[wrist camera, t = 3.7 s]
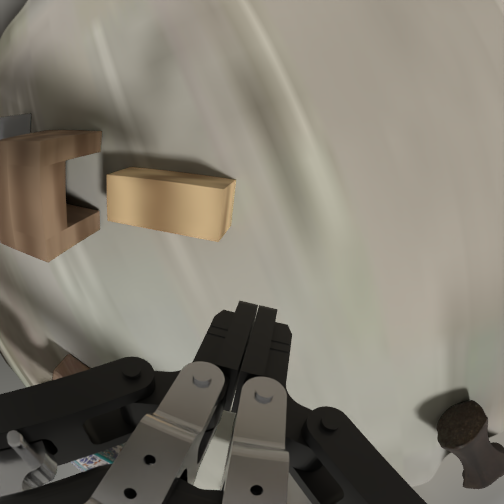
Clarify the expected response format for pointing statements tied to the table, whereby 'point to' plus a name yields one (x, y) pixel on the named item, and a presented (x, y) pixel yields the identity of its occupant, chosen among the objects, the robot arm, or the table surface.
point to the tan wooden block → (171, 201)
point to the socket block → (43, 192)
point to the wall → (15, 125)
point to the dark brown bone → (471, 444)
